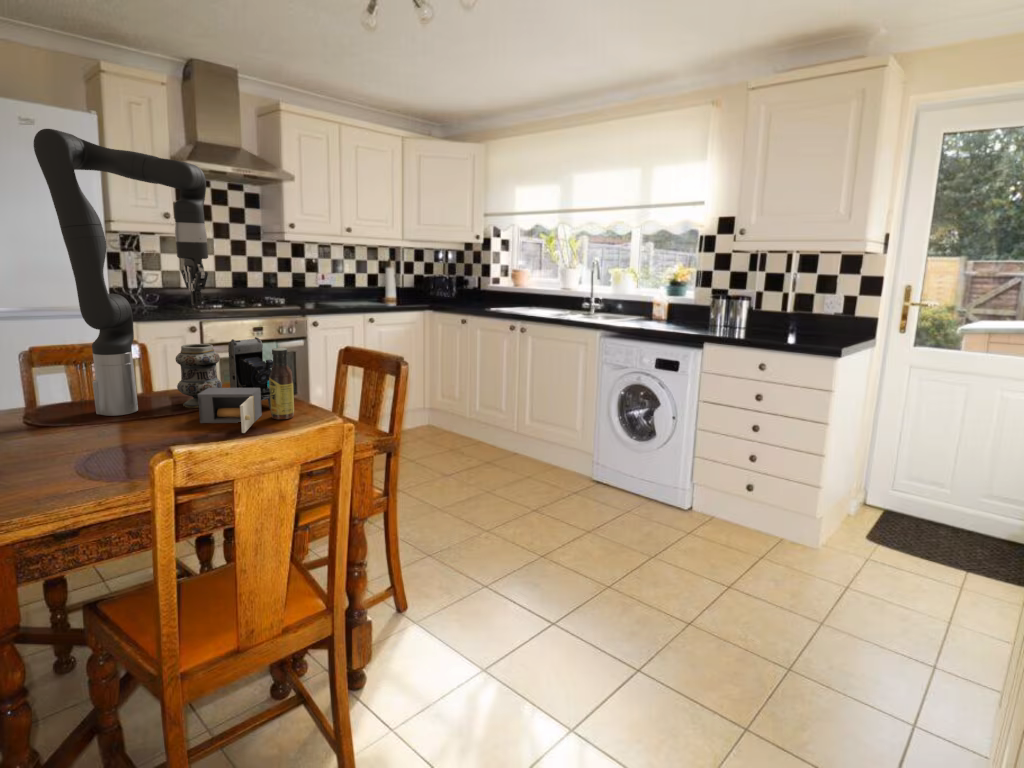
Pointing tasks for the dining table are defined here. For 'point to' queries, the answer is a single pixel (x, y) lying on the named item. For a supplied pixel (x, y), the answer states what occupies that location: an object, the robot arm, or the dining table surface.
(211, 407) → the case
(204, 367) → the apothecary jar
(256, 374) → the vintage camera
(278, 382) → the sauce bottle
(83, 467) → the dining table surface
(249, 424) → the door
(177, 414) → the dining table surface
